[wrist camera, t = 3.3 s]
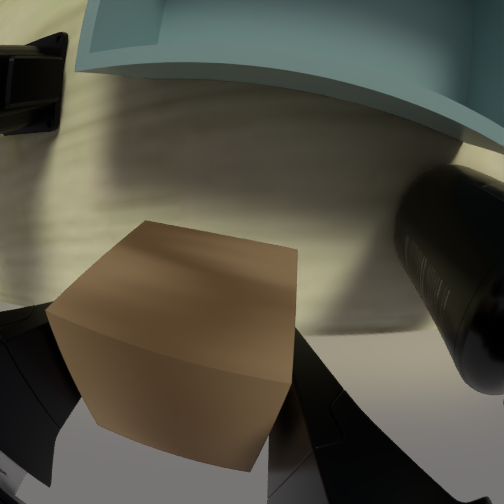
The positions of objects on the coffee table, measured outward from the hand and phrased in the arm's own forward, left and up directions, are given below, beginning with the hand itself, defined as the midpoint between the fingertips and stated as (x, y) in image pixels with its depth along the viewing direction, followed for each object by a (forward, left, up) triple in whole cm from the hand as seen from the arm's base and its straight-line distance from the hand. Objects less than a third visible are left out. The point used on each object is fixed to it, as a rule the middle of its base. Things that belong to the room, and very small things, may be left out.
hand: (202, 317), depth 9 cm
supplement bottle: (+11, +3, -7) cm, 13 cm away
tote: (+2, +13, -7) cm, 14 cm away
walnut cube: (0, 0, -1) cm, 1 cm away
